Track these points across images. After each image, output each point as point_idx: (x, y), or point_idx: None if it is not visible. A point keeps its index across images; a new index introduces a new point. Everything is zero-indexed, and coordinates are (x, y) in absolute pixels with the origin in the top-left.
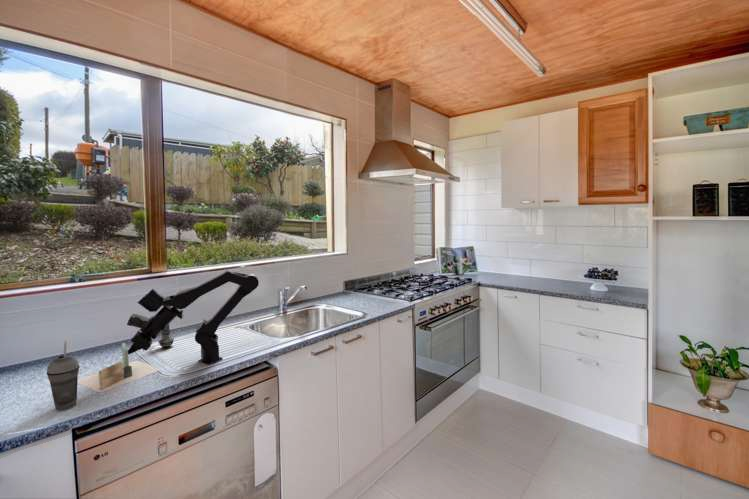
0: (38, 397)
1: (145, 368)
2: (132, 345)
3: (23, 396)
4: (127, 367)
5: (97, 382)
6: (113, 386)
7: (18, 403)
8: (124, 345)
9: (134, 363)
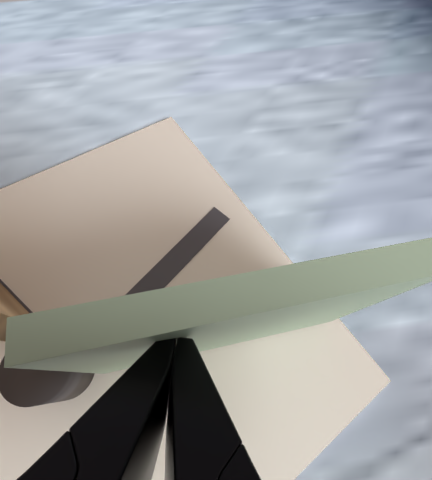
0: (66, 49)
1: None
2: (54, 452)
3: (113, 19)
4: (26, 369)
5: (74, 208)
6: None
7: (50, 16)
8: (347, 276)
9: (326, 379)
